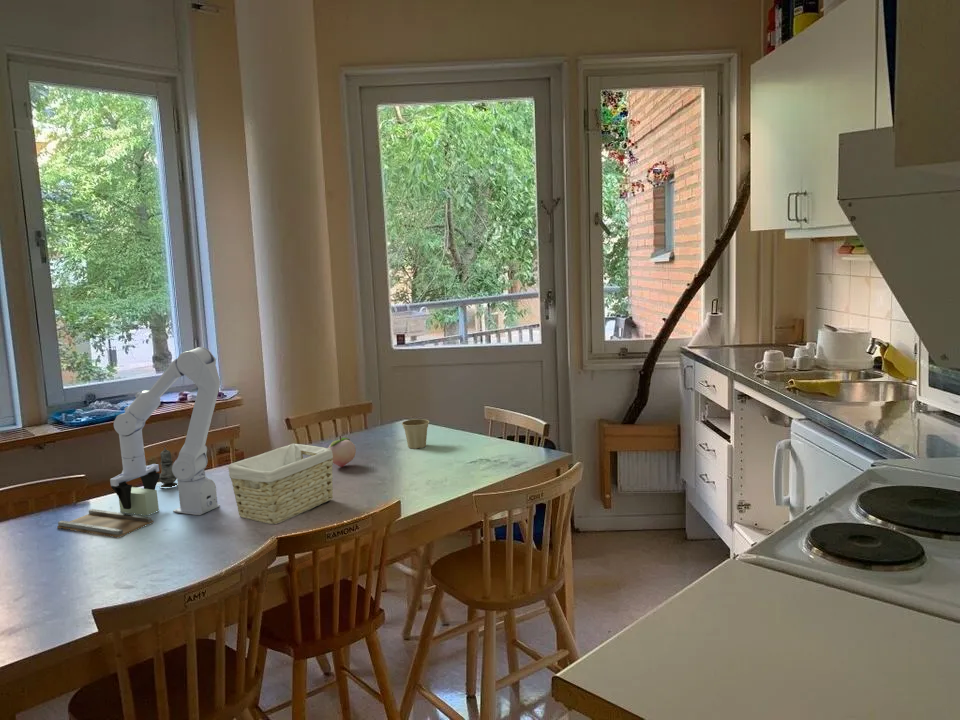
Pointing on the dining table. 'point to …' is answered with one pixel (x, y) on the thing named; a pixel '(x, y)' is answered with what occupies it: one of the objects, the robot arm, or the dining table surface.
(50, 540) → the dining table surface
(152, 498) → the pale green block
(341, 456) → the decorative fruit
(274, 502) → the storage basket
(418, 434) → the flower pot
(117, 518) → the floor track
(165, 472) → the grey tall carved piece
